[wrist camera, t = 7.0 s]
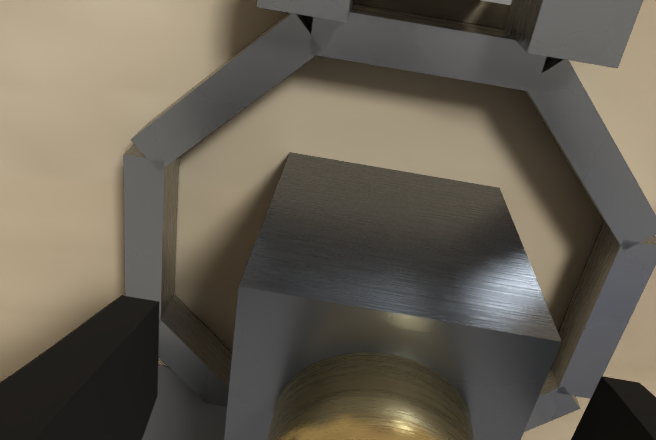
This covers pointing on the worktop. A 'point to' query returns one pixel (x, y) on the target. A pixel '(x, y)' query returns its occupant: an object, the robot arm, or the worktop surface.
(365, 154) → the worktop surface
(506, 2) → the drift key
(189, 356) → the socket
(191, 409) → the rack
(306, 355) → the gold-capped square jar
